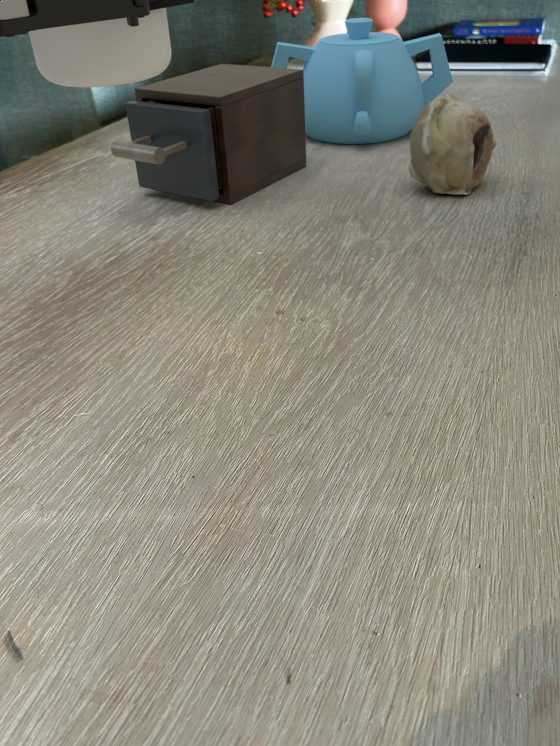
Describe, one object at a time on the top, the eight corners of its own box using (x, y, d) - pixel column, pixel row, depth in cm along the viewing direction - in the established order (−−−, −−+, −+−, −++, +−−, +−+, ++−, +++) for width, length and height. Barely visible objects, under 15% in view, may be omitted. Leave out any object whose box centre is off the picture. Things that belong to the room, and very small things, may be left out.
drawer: (180, 217, 66) (167, 124, 61) (105, 200, 71) (88, 113, 66) (286, 165, 78) (282, 84, 73) (216, 154, 84) (208, 77, 79)
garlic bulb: (421, 219, 71) (398, 134, 65) (412, 180, 77) (389, 100, 71) (512, 191, 69) (497, 100, 62) (495, 153, 75) (479, 66, 68)
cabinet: (230, 204, 71) (220, 97, 65) (150, 188, 77) (133, 88, 71) (306, 166, 81) (303, 69, 75) (230, 154, 87) (221, 63, 81)
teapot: (453, 126, 92) (462, 12, 84) (357, 159, 82) (358, 34, 74) (351, 107, 105) (351, 7, 97) (257, 134, 95) (249, 25, 87)
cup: (64, 68, 56) (32, -77, 50) (183, 62, 55) (165, -86, 49) (21, 94, 47) (-22, -76, 42) (161, 87, 47) (136, -86, 41)
